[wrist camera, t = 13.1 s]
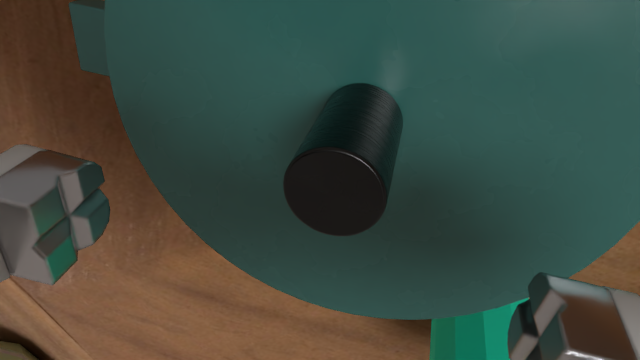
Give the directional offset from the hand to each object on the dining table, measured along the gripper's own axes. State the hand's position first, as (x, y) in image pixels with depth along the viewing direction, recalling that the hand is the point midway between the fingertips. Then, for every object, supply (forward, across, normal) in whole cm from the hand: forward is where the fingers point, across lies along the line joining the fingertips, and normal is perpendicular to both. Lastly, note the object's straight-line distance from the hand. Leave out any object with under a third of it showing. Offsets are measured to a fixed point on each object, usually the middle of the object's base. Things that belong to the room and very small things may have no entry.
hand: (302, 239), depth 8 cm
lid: (+6, 0, 0) cm, 7 cm away
